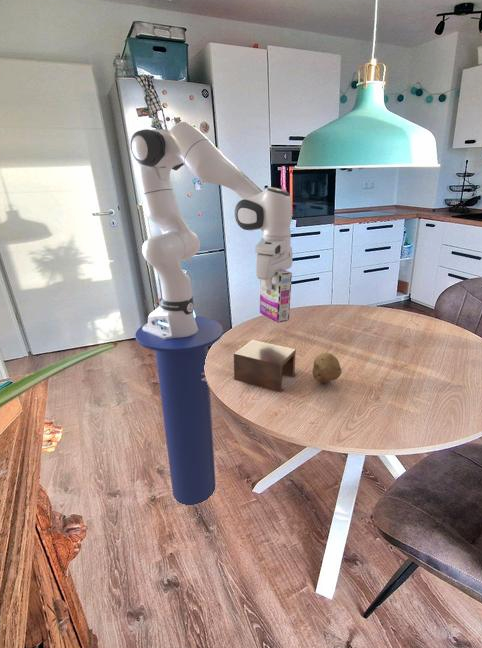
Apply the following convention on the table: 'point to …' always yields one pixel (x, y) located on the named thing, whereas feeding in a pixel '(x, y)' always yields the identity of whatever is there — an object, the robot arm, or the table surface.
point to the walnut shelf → (264, 364)
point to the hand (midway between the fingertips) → (274, 286)
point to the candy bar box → (276, 297)
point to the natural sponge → (326, 368)
